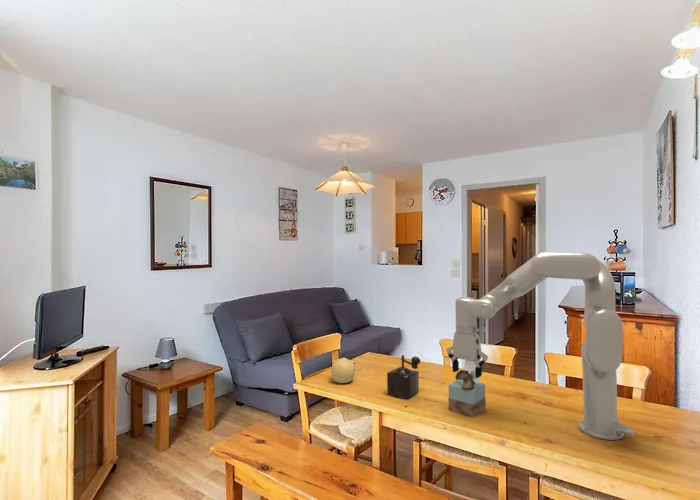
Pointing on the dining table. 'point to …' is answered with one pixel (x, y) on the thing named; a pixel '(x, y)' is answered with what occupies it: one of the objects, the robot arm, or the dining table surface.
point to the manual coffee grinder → (404, 380)
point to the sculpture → (343, 370)
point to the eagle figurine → (466, 379)
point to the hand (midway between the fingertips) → (466, 374)
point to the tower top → (466, 392)
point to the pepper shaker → (470, 368)
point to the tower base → (467, 407)
